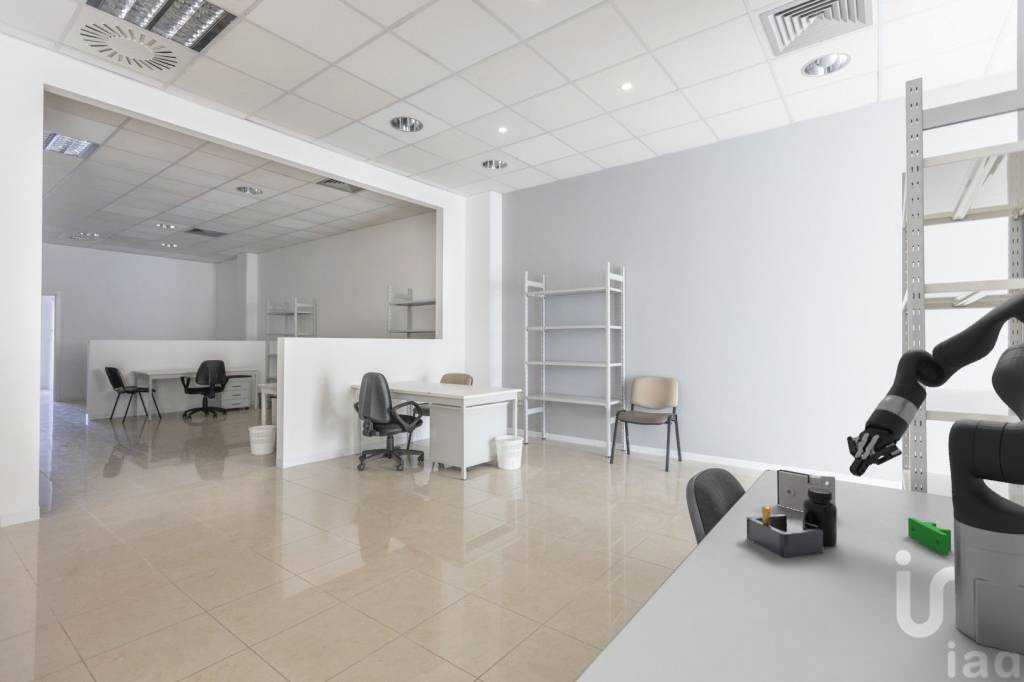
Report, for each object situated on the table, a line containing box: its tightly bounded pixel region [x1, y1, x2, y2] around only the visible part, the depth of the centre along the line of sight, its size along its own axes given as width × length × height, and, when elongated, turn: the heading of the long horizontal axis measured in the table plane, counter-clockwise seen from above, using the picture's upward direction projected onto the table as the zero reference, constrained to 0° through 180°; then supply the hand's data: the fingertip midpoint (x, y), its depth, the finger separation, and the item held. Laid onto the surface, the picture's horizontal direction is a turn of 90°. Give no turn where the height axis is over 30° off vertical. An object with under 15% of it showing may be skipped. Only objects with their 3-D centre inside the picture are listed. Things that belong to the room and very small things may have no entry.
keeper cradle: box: [746, 505, 824, 559], centre depth 114 cm, size 10×11×9 cm
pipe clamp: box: [907, 517, 952, 556], centre depth 114 cm, size 11×4×5 cm, turn 173°
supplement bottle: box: [802, 487, 838, 548], centre depth 117 cm, size 7×7×12 cm
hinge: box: [776, 469, 837, 512], centre depth 139 cm, size 14×5×10 cm, turn 49°
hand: (854, 473), depth 120 cm, fingers closed
